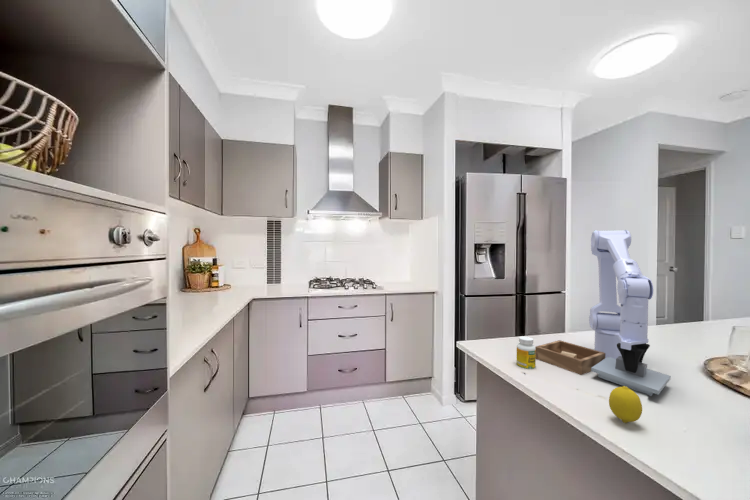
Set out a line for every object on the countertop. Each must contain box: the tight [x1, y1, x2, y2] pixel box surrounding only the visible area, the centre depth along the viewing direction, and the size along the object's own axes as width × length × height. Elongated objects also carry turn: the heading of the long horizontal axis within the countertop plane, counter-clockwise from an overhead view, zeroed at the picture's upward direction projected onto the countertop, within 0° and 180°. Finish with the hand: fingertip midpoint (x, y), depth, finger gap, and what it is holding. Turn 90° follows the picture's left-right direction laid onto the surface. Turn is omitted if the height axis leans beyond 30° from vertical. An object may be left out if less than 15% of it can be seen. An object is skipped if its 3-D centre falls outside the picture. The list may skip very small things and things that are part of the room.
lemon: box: [608, 386, 643, 424], centre depth 64 cm, size 6×6×8 cm
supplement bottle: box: [516, 335, 537, 370], centre depth 92 cm, size 5×5×10 cm
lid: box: [591, 356, 672, 397], centre depth 82 cm, size 14×14×6 cm
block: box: [561, 351, 577, 358], centre depth 96 cm, size 4×4×2 cm
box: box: [535, 339, 605, 376], centre depth 95 cm, size 14×14×5 cm
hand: (632, 369), depth 81 cm, fingers closed on lid, 3 cm apart
